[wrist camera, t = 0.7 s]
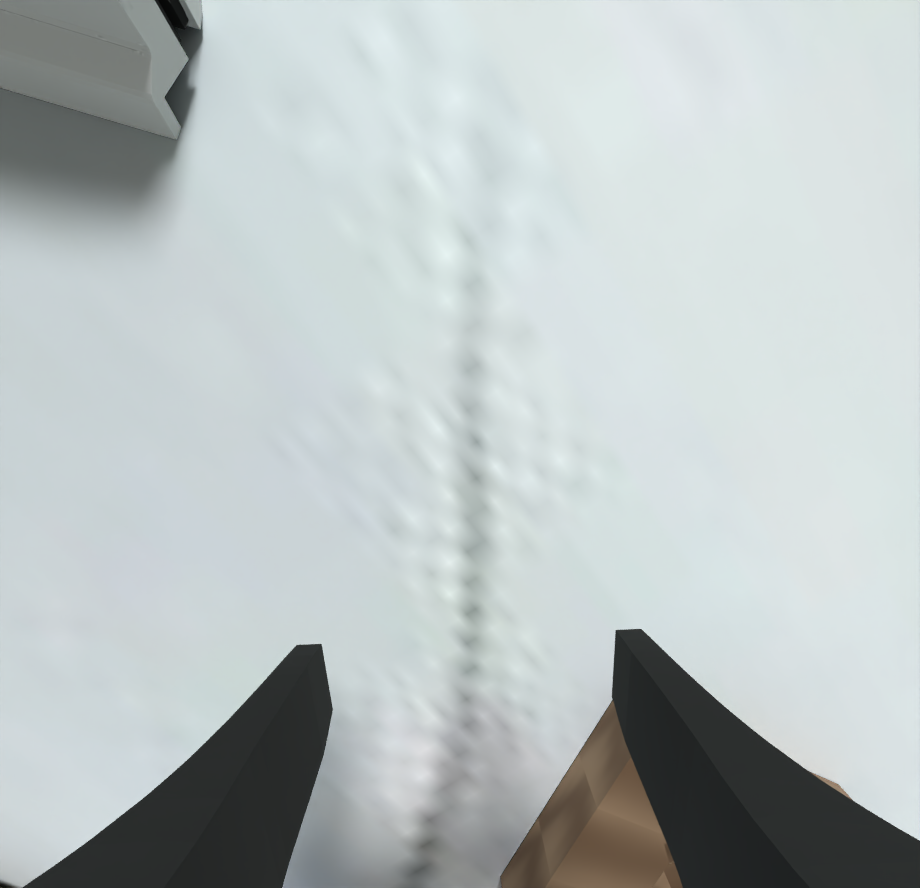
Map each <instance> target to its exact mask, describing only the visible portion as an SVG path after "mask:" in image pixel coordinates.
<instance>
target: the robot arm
mask: <svg viewBox="0 0 920 888" xmlns="http://www.w3.org/2000/svg"><path fill="white" fill-rule="evenodd" d="M612 699H613V702H614V706H615V709H616V713H617V716H618V720H619V723H620V727H621V730H622V733H623V737H624V740H625V743H626V745H627V748H628V750H629V753H630V755H631V758H632V760H633V763H634V765H635V768H636V770H637V772H638V775H639V777H640V780H641V782H642V785H643V787H644V789H645V792H646V794H647V797H648V799H649V802H650V804H651V806H652V809H653V811H654V814H655V816H656V818H657V821H658V823H659V826H660V828H661V831H662V833H663V835H664V838H665V840H666V843H667V845H668V848H669V850H670V853H671V856H672V858H673V861H674V864H675V866H676V869H677V872H678V874H679V877H680V880H681V884H682V887H683V888H920V841H919V840H917V839H916V838H914V837H912V836H910V835H909V834H907V833H905V832H903V831H902V830H900V829H898V828H896V827H895V826H893V825H891V824H890V823H888V822H887V821H885V820H883V819H882V818H880V817H878V816H877V815H875V814H873V813H872V812H870V811H868V810H867V809H865V808H864V807H862V806H860V805H859V804H857V803H856V802H854V801H853V800H851V799H850V798H848V797H846V796H845V795H843V794H842V793H840V792H839V791H837V790H836V789H834V788H833V787H831V786H829V785H828V784H826V783H825V782H823V781H822V780H820V779H819V778H818V777H816V776H815V775H813V774H812V773H810V772H809V771H807V770H806V769H804V768H803V767H802V766H800V765H799V764H798V763H796V762H795V761H793V760H792V759H791V758H789V757H788V756H787V755H785V754H784V753H782V752H781V751H780V750H778V749H777V748H776V747H774V746H773V745H771V744H770V743H769V742H767V741H766V740H765V739H764V738H762V737H761V736H760V735H758V734H757V733H756V732H755V731H753V730H752V729H751V728H750V727H748V726H747V725H746V724H745V723H744V722H742V721H741V720H740V719H739V718H737V717H736V716H735V715H734V714H733V713H731V712H730V711H729V710H728V709H727V708H725V707H724V706H723V705H722V704H721V703H720V702H718V701H717V700H716V699H715V698H714V697H713V696H712V695H711V694H710V693H708V692H707V691H706V690H705V689H704V688H703V687H702V686H701V685H700V684H698V683H697V682H696V681H695V680H694V679H693V678H692V677H691V676H690V675H689V674H688V673H687V672H685V671H684V670H683V669H682V668H681V667H680V666H679V665H678V664H677V663H676V662H675V661H674V660H673V659H672V658H671V657H670V656H669V655H668V654H667V653H666V652H665V651H664V650H662V649H661V648H660V647H659V646H658V645H657V644H656V643H655V642H654V641H653V640H652V639H651V638H650V637H649V636H648V635H647V634H646V633H645V632H644V631H643V630H642V629H629V630H616V636H615V654H614V671H613V688H612ZM332 710H333V708H332V703H331V697H330V691H329V685H328V679H327V673H326V668H325V662H324V656H323V650H322V644H311V645H297V646H296V647H295V648H294V649H293V650H292V651H291V652H290V653H289V654H288V655H287V656H286V657H285V658H284V660H283V661H282V662H281V663H280V664H279V665H278V666H277V667H276V669H275V670H274V671H273V672H272V673H271V674H270V675H269V676H268V677H267V679H266V680H265V681H264V682H263V683H262V684H261V685H260V686H259V687H258V689H257V690H256V691H255V692H254V693H253V694H252V695H251V696H250V697H249V698H248V699H247V700H246V702H245V703H244V704H243V705H242V706H241V707H240V708H239V709H238V710H237V711H236V712H235V713H234V714H233V715H232V716H231V718H230V719H229V720H228V721H227V722H226V723H225V724H224V725H223V726H222V727H221V728H220V729H219V730H218V731H217V732H216V733H215V734H214V735H213V736H212V737H211V738H210V739H209V740H208V741H207V742H206V743H205V744H203V745H202V746H201V747H200V748H199V749H198V750H197V751H196V752H195V753H194V754H193V755H192V756H191V757H190V758H189V759H188V760H187V761H186V762H185V763H184V764H182V765H181V766H180V767H179V768H178V769H177V770H176V771H175V772H174V773H172V774H171V775H170V776H169V777H168V778H167V779H165V780H164V781H163V782H162V783H161V784H160V785H158V786H157V787H156V788H155V789H154V790H153V791H152V792H150V793H149V794H148V795H147V796H146V797H144V798H143V799H142V800H141V801H139V802H138V803H137V804H136V805H134V806H133V807H132V808H130V809H129V810H128V811H127V812H125V813H124V814H123V815H121V816H120V817H119V818H118V819H116V820H115V821H114V822H113V823H111V824H110V825H109V826H107V827H106V828H105V829H104V830H102V831H101V832H100V833H98V834H97V835H96V836H95V837H93V838H92V839H91V840H89V841H88V842H87V843H85V844H84V845H83V846H81V847H80V848H78V849H77V850H76V851H74V852H73V853H71V854H70V855H69V856H67V857H66V858H64V859H63V860H62V861H60V862H59V863H58V864H56V865H55V866H53V867H52V868H50V869H49V870H47V871H46V872H44V873H43V874H42V875H40V876H39V877H37V878H36V879H34V880H33V881H31V882H30V883H28V884H27V885H26V886H24V887H23V888H282V886H283V882H284V879H285V875H286V872H287V868H288V865H289V862H290V858H291V855H292V852H293V849H294V846H295V843H296V840H297V837H298V834H299V830H300V827H301V824H302V821H303V818H304V815H305V812H306V809H307V806H308V802H309V799H310V796H311V793H312V790H313V787H314V784H315V781H316V777H317V774H318V771H319V768H320V765H321V761H322V758H323V755H324V750H325V746H326V741H327V736H328V731H329V726H330V721H331V716H332Z"/></svg>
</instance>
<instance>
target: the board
mask: <svg viewBox="0 0 920 888" xmlns="http://www.w3.org/2000/svg"><path fill="white" fill-rule="evenodd" d="M810 773H811V772H810ZM812 774H813V775H815V776H816V777H818V778H819V779H820V780H822V781H823V782H825V783H826V784H828V785H829V786H831V787H833V788H834V789H836V790H837V791H839V792H840V793H842V794H843V795H845V796H846V797H848V798H850V797H849V796H848V794H847V793H846V792H845V791H844V790H843V789H842V788H841V787H840V786H839V785H838V784H836V783H834V782H832V781H829V780H827V779H825V778H823V777H820V776H818V775H816V774H814V773H812ZM850 799H851V798H850ZM851 800H852V799H851ZM672 862H673V863H672ZM501 884H502V888H683V887H682V884H681V880H680V877H679V874H678V872H677V869H676V866H675V864H674V861H673V858H672V856H671V853H670V850H669V848H668V845H667V843H666V840H665V838H664V835H663V833H662V831H661V828H660V826H659V823H658V821H657V818H656V816H655V814H654V811H653V809H652V806H651V804H650V802H649V799H648V797H647V794H646V792H645V789H644V787H643V785H642V782H641V780H640V777H639V775H638V772H637V770H636V768H635V765H634V763H633V760H632V758H631V755H630V753H629V750H628V748H627V745H626V743H625V740H624V737H623V733H622V730H621V727H620V723H619V720H618V716H617V713H616V709H615V706H614V702H613V701H612V702H611V704H610V705H609V707H608V709H607V710H606V712H605V713H604V715H603V716H602V718H601V720H600V721H599V723H598V724H597V726H596V727H595V729H594V731H593V732H592V734H591V735H590V737H589V738H588V740H587V742H586V743H585V745H584V746H583V748H582V749H581V751H580V753H579V754H578V756H577V757H576V759H575V760H574V762H573V764H572V765H571V767H570V768H569V770H568V771H567V773H566V775H565V776H564V778H563V779H562V781H561V782H560V784H559V786H558V787H557V789H556V790H555V792H554V793H553V795H552V797H551V798H550V800H549V801H548V803H547V804H546V806H545V808H544V809H543V811H542V812H541V814H540V815H539V817H538V819H537V820H536V822H535V823H534V825H533V826H532V828H531V830H530V831H529V833H528V834H527V836H526V837H525V839H524V841H523V842H522V844H521V845H520V847H519V848H518V850H517V852H516V853H515V855H514V856H513V858H512V859H511V861H510V863H509V864H508V866H507V867H506V869H505V870H504V872H503V874H502V875H501Z"/></svg>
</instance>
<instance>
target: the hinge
mask: <svg viewBox="0 0 920 888" xmlns="http://www.w3.org/2000/svg"><path fill="white" fill-rule="evenodd" d="M201 21H202V1H201V0H0V88H2V89H6V90H9V91H12V92H16V93H19V94H23V95H26V96H29V97H33V98H36V99H39V100H43V101H46V102H50V103H53V104H56V105H60V106H63V107H67V108H70V109H73V110H77V111H80V112H83V113H87V114H90V115H94V116H97V117H100V118H104V119H107V120H111V121H114V122H117V123H121V124H124V125H127V126H131V127H134V128H138V129H141V130H144V131H148V132H151V133H155V134H158V135H161V136H165V137H168V138H171V139H175V140H177V139H178V136H179V133H180V130H181V126H180V124H179V123H178V121H177V119H176V117H175V116H174V114H173V112H172V110H171V108H170V107H169V105H168V103H167V101H166V100H165V95H166V94H167V92H168V91H169V89H170V88H171V86H172V84H173V83H174V81H175V80H176V78H177V77H178V75H179V74H180V72H181V71H182V69H183V68H184V66H185V64H186V63H187V61H188V60H189V59H188V57H187V55H186V53H185V52H184V50H183V48H182V47H181V45H180V42H181V39H180V38H179V36H178V34H177V32H176V31H175V29H174V27H173V26H176V27H179V28H182V29H185V28H186V26H190V27H193V28H196V29H200V30H201Z"/></svg>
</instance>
